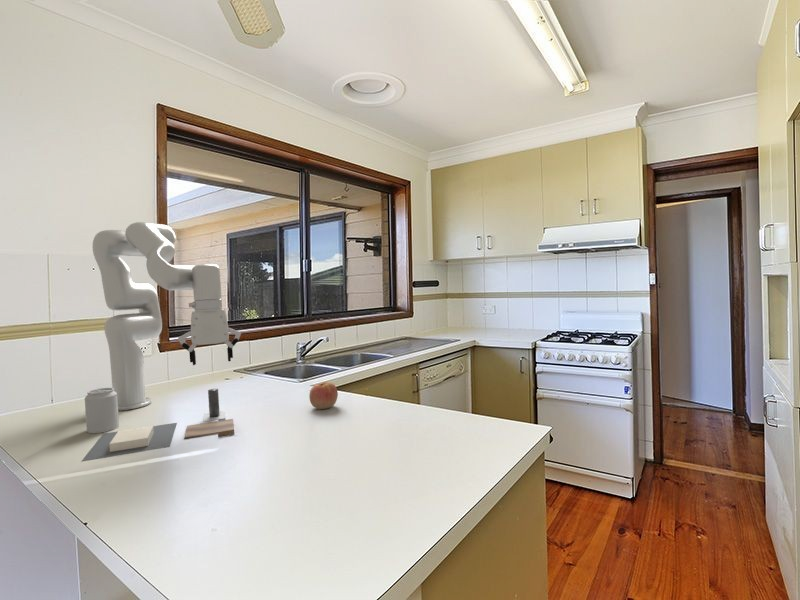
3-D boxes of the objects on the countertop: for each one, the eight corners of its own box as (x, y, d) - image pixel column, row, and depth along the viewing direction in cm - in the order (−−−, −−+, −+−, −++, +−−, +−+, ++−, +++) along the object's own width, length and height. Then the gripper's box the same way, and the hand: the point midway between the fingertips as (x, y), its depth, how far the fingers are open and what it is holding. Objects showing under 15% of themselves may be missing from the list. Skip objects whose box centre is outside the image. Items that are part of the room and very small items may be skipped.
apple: (342, 408, 133) (341, 383, 133) (316, 414, 128) (315, 388, 128) (330, 402, 140) (329, 378, 140) (305, 407, 135) (304, 382, 135)
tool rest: (187, 429, 118) (187, 425, 118) (233, 422, 123) (232, 418, 123) (184, 442, 109) (184, 437, 109) (234, 433, 114) (234, 429, 113)
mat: (103, 436, 115) (103, 433, 115) (177, 425, 122) (177, 422, 122) (81, 464, 97) (81, 461, 97) (169, 449, 104) (169, 446, 104)
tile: (118, 430, 110) (109, 443, 101) (153, 425, 114) (147, 437, 104) (118, 438, 111) (109, 452, 101) (153, 433, 114) (148, 446, 105)
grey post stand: (204, 417, 130) (202, 388, 129) (225, 413, 132) (223, 385, 132) (203, 424, 122) (201, 394, 122) (225, 421, 125) (224, 391, 124)
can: (102, 436, 115) (99, 393, 114) (80, 435, 116) (77, 393, 116) (125, 427, 122) (123, 386, 122) (104, 426, 124) (101, 386, 123)
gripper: (174, 308, 119) (178, 368, 119) (239, 304, 125) (243, 361, 126) (176, 307, 126) (180, 364, 126) (238, 303, 132) (242, 357, 133)
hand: (212, 362), depth 126 cm, fingers open, 9 cm apart
